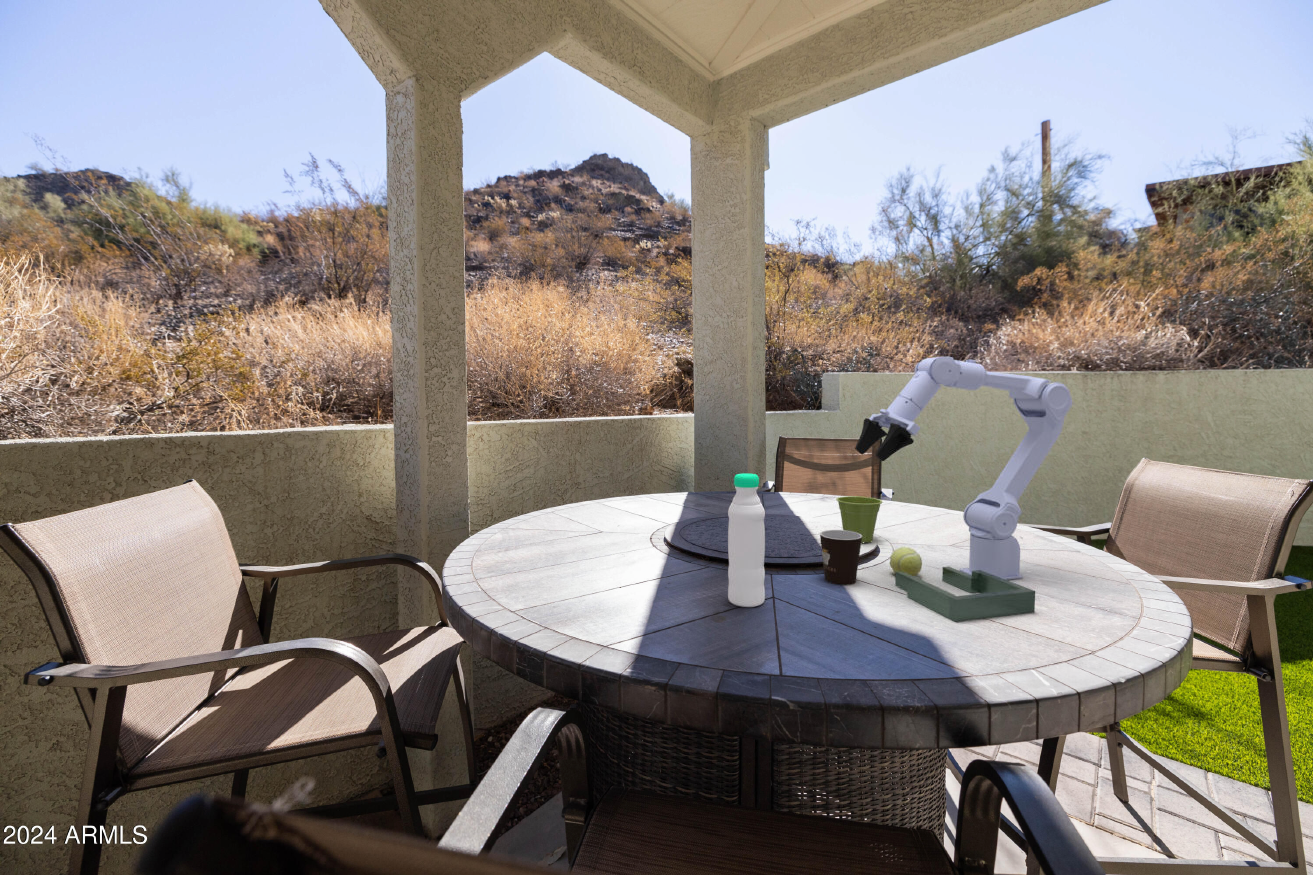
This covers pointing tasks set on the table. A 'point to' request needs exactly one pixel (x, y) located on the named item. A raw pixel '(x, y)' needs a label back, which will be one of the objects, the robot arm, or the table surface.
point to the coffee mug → (840, 555)
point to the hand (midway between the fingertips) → (868, 454)
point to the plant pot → (859, 515)
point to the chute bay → (992, 601)
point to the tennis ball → (906, 561)
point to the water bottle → (746, 544)
